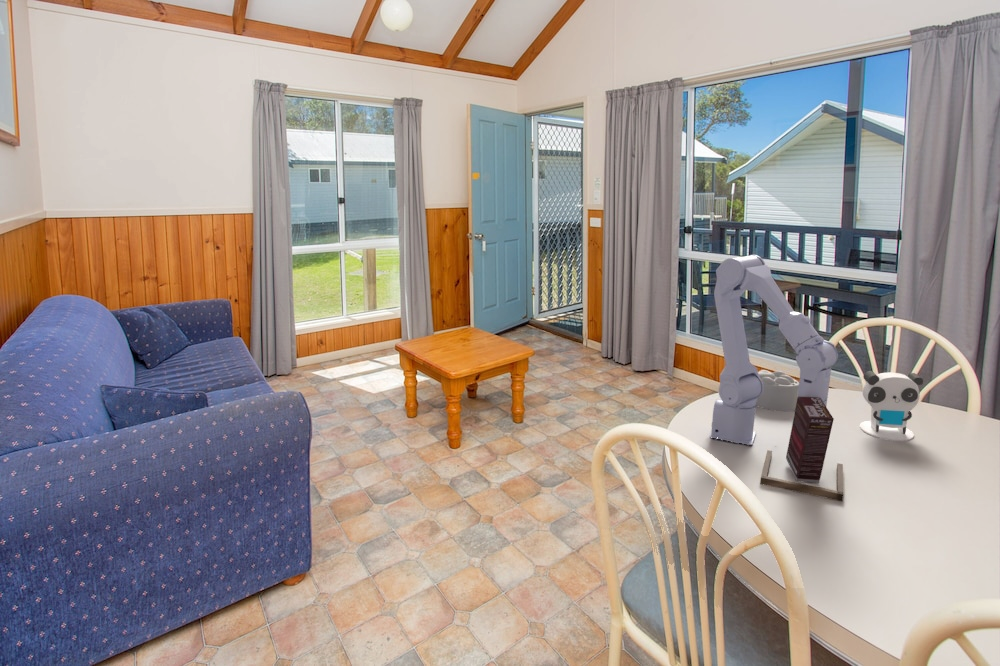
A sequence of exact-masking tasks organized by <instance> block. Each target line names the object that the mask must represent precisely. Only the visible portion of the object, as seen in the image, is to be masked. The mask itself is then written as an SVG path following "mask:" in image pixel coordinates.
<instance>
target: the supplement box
mask: <svg viewBox="0 0 1000 666" xmlns="http://www.w3.org/2000/svg"><path fill="white" fill-rule="evenodd" d="M834 420H835V419H834V417H833V415H832V414H831V412H830V410H829V409H828V408H827V406H825V404H824V403H823V401H822V400H821V398H816V397H798V398H797V403H796V408H795V410H794V415H793V420H792V424H791V430H790V436H789V440H788V441H789V442H788V446H787V451H786V457H785V459H786V462H787V464H788V466H789V468H790V471H791V472H792V475H793V476H794V477H793V478H794V479H795V482H797V483H811V484H812V483H815V484H816V483H817V484H819V483H820V481H821V476H822V472H823V468H824V463H825V458H826V455H827V454H826V453H827V449H828V445H829V441H830V437H831V434H832V433H831V432H832V429H833V428H832V427H833V423H834Z"/></svg>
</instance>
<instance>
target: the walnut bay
mask: <svg viewBox="0 0 1000 666" xmlns="http://www.w3.org/2000/svg"><path fill="white" fill-rule="evenodd" d="M772 455H773V451H772V450H768V449H767V451H766V455H765V458H764V463H763V467H762V471H761V475H760V482H759V484H760V485H763V484H764V485H765V486H768V487H771V488H772V487H773V488H777V489H782V490H786V491H787V490H788V491H792V492H796V493H801V494H807V495H811V496H814V497H815V496H816V497H819V498H820V497H821V498H826V499H830V500H835V501H839V502H843V499H844V465H843V463H838V462H837V463H836V464H837V465H836V490H834V489H830V488H825V487H822V486H821V487H820V486H816V485H812V484H811V485H810V484H806V483H802V482H797V481H792V480H791V481H790V480H786V479H781V478H777V477H771V476H768V474H769V471H770V470H769V469H770V466H771V461H772Z"/></svg>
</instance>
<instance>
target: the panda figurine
mask: <svg viewBox="0 0 1000 666" xmlns="http://www.w3.org/2000/svg"><path fill="white" fill-rule="evenodd" d="M863 379H864V381H865V384H864V386H863V387H862V388H863V389H862V396H863V398H864V400H865V402H866V403H867V404H869V406H870V408H871V411H870V412H871V413H870V414H871V415H870V420H865V421H862V422H860V424H859V429H860V430H861V431H862V432H863V433H865V434H867V435H869V436H871V437H874V438H877V439H881V440H886V441H893V442H908V441H910V440H913V438H914V436H915V435H914V434H915V433H914V432H913V431H912V430H910V429H909V428H907V423H908V421H909V420H911V418H912V417H913V414H912V412H911V411H912V410H914V409H915V408H916V406H918V403H919V400H920V389H919V386H921V385H923V383H924V380H923V378H922V377H921V376H919V375H918V374H917V373H916V372H910V373H909V374H908V375H906V374H904V373H899V372H881V373H877V374H876V373H875V372H874V371H872V370H868V371H865V372H864V374H863Z"/></svg>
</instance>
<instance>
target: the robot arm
mask: <svg viewBox="0 0 1000 666" xmlns="http://www.w3.org/2000/svg"><path fill="white" fill-rule="evenodd" d="M715 274H716V282H715V287H714V292H713V294H714V295H713V296H714V302H715V303H714V304H715V309H716V315H717V322H718V327H719V333H720V338H721V346H722V353H723V357H724V358H723V359H724V363H725V366H724V367H723V369H722V371H721V372H720V374H719V386H718V396H719V398H720V399H719V398H717V399H715V401H714V405H713V410H712V421H711V431H710V432H711V434H710V438H711V437H712V438H717V437H718V439H722V440H721V441H723V440H727V441H726V442H728V441H732V442H731V443H733V442H736V443H735V444H739V443H742V444H741V445H744V444H747V445H746V446H749V445H752V446H753V444H754V441H755V438H756V435H757V431H755V430H754V426H755V417H756V408H757V406H756V402H757V397H759V396H760V395H761V394H762V393H763V390H764V385H763V382H762V380H761V378H760V377H759V375H758V372H759V371H758V368H757V367H756V366H755V365H754V364H753V363H752V362H751V360H750V354H749V349H748V347H749V346H748V342H747V336H746V335H747V334H746V330H745V322H744V316H743V310H742V305H741V296H743V294H744V293H745V292H746V291H750V292H752V293H753V292H754V293H756V294H758V296H759V297H760V298H761V300H762V301H763V302H764V303H765V304H766V305H767V306H768V308H769V309H770V311H771V312H773V314H774V315H775V317H777V319H779V322H778V329H779V331H780V332H781V333H782V335H783V336H784V338H785V339H786V340H787V342H788V343H789V345H790V347H792V349H793V350H794V351H795V353H796V356H795V361H796V364H797V366H798V367H799V380H798V382H799V388H798V396H797V398H798V397H816V398H821V400H822V401H823V403H824V404H825V406H826V407H827V404H828V398H829V397H828V396H829V390H830V389H829V388H830V381H831V373H832V366H834V365H835V364H836V363H837V361H838V359H839V354H838V350H837V348H836V347H835V344H834V343H832V342H831V341H828V340H825V339H824V337H823V336H820V334H819V333H818V332H817V330H816V329H815V327H814V326H813V324H811V321H812V320H811V319H810V317H809V316H808V315H807V316H806V315H805V314H804V313H803V312H798V311H794V309H793V307H792V306H791V304H790V302H789V301H788V300H787V298H786V296H785V295H784V293H783V292H782V290H781V289H780V287H779V286H778V284H777V283H776V281H775V280H774V278H773V276H772V270H771V268H770V267H769V266H768V265H767V264H766V262H765V261H764V259H763V258H762V257H761V256H759V255H757V254H749V255H747V256H741V257H735V258H734V257H729V258H725V260H723V261H722V262H721V264H719V266H717V268H716V270H715ZM755 434H756V435H755ZM712 438H711V439H712Z"/></svg>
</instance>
